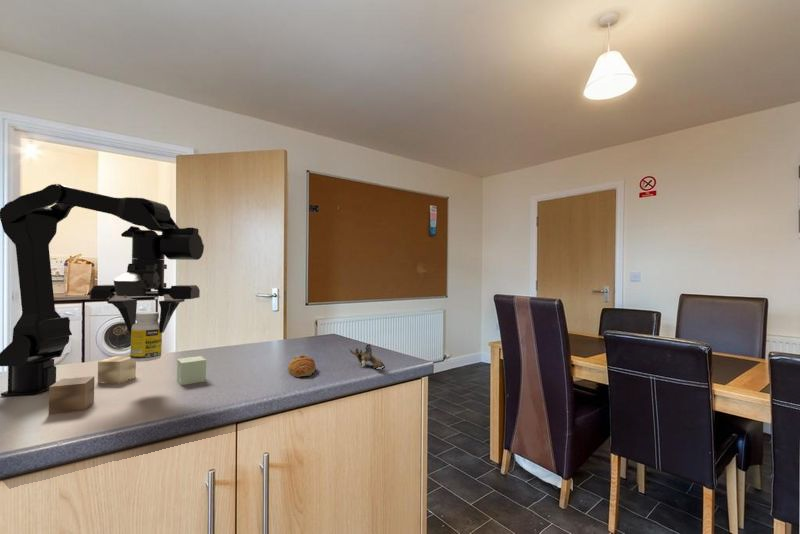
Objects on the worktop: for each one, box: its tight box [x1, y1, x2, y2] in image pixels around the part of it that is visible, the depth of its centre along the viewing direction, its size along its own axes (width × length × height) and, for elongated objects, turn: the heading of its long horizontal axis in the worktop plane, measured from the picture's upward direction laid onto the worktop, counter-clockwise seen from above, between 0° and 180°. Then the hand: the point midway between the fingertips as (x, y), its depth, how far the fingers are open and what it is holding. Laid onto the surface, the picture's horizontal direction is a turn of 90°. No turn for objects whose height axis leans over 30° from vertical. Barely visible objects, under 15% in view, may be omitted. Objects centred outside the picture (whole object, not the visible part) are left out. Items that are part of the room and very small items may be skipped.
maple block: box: [97, 355, 137, 384], centre depth 85 cm, size 5×5×5 cm
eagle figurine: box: [348, 343, 385, 369], centre depth 99 cm, size 8×7×9 cm
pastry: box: [287, 354, 317, 378], centre depth 92 cm, size 9×7×4 cm
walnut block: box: [48, 375, 96, 416], centre depth 68 cm, size 5×5×5 cm
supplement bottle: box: [129, 311, 163, 363], centre depth 77 cm, size 5×5×10 cm
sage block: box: [176, 355, 207, 386], centre depth 85 cm, size 5×5×5 cm
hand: (146, 332), depth 77 cm, fingers closed on supplement bottle, 5 cm apart
